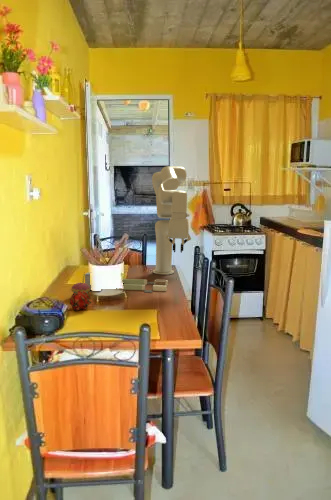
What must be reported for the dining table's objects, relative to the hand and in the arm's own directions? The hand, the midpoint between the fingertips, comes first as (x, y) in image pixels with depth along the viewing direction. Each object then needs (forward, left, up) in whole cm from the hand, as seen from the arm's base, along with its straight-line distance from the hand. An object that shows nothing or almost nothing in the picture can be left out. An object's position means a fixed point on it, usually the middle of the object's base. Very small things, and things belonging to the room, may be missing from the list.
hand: (177, 251), depth 214 cm
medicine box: (+10, -41, -19) cm, 46 cm away
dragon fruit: (+41, -40, -19) cm, 61 cm away
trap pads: (0, -14, -19) cm, 24 cm away
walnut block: (0, -8, -19) cm, 21 cm away
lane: (0, -18, -19) cm, 26 cm away
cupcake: (+24, -44, -19) cm, 54 cm away
